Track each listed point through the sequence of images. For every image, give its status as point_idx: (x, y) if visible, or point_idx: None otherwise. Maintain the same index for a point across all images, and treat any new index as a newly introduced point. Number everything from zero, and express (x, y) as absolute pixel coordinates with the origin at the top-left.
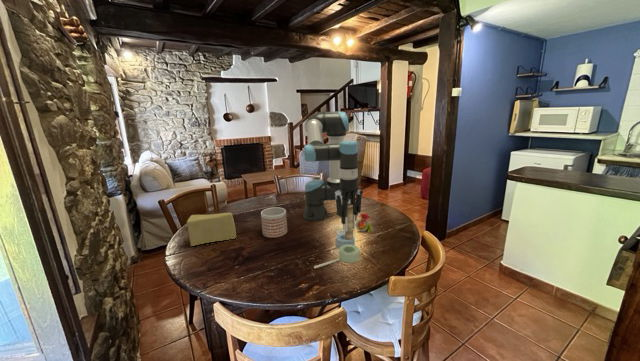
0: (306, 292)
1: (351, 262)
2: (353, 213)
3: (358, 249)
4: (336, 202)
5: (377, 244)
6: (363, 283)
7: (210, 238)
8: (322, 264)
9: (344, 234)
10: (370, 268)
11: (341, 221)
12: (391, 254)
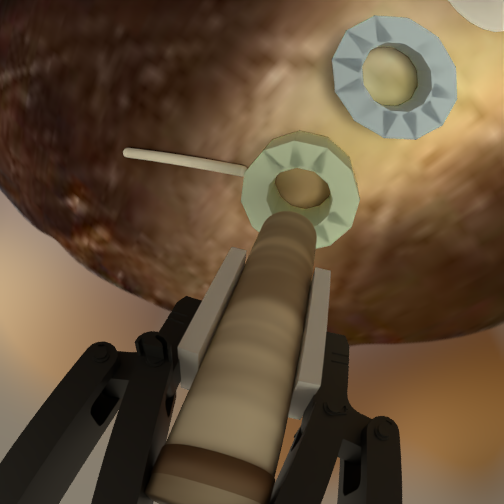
0: (77, 232)
1: None
2: (307, 412)
3: (336, 235)
4: (4, 468)
5: (492, 210)
6: None
7: None
8: (155, 160)
9: (423, 48)
10: None
11: (173, 311)
12: (445, 294)
